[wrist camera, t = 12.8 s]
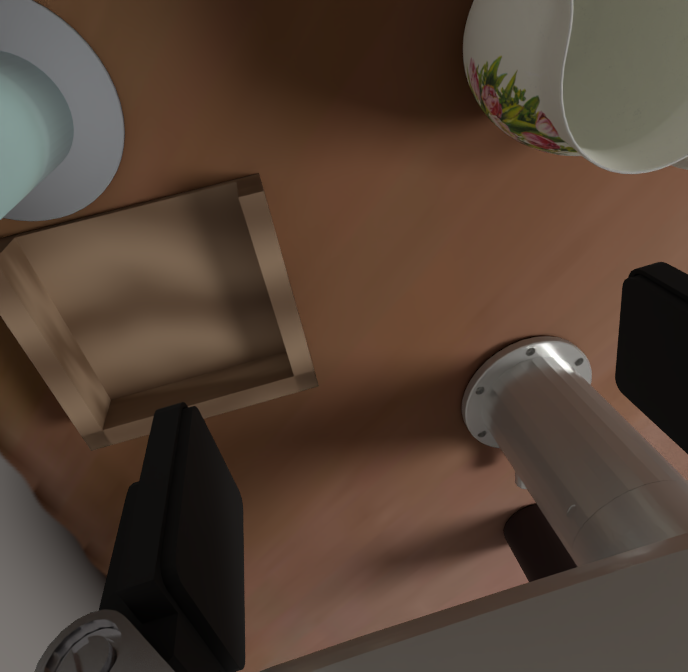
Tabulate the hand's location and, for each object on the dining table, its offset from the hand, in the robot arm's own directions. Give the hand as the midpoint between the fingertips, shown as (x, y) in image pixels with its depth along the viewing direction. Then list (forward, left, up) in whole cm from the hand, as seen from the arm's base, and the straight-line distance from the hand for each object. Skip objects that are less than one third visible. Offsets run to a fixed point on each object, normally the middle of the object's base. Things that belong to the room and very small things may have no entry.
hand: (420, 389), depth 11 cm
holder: (-9, +11, -26) cm, 29 cm away
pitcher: (+2, -16, -26) cm, 31 cm away
